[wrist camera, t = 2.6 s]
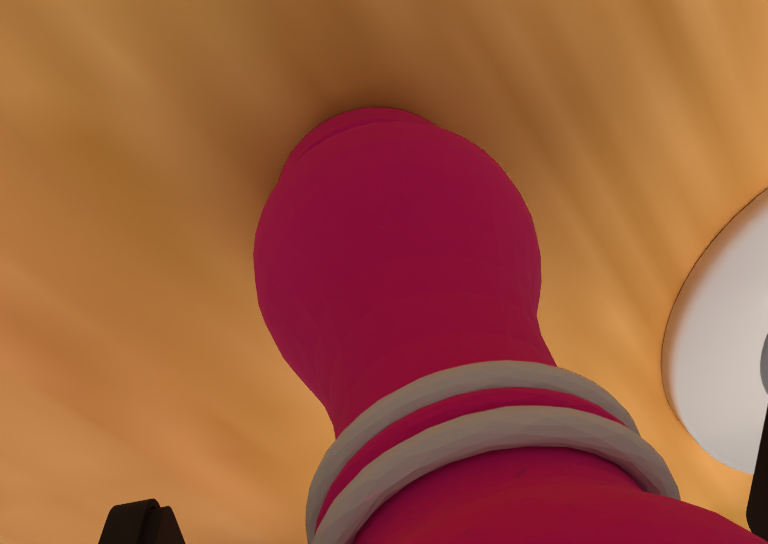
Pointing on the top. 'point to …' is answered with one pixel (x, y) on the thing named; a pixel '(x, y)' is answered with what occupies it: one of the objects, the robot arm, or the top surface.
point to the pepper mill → (444, 355)
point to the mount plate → (723, 342)
